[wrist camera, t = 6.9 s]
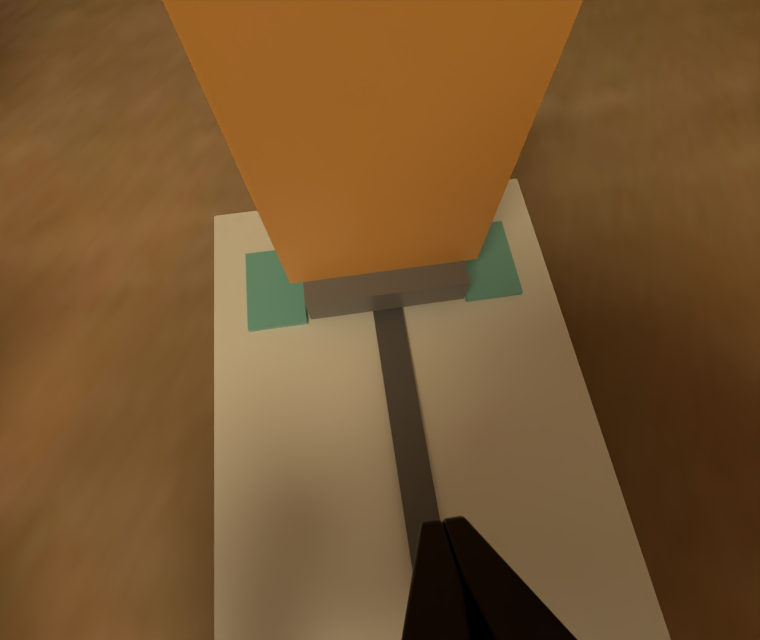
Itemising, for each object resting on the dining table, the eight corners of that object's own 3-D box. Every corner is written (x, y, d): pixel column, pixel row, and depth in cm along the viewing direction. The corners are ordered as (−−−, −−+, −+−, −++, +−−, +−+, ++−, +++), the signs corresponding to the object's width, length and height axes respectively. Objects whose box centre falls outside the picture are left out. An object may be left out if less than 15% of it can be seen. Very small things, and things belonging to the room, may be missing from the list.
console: (706, 835, 11) (760, 894, 9) (236, 931, 10) (210, 1012, 9) (506, 202, 18) (518, 175, 17) (227, 237, 18) (212, 212, 16)
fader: (475, 297, 14) (654, -75, 5) (299, 321, 14) (126, -26, 5) (450, 201, 16) (551, -228, 6) (291, 221, 16) (148, -195, 6)
